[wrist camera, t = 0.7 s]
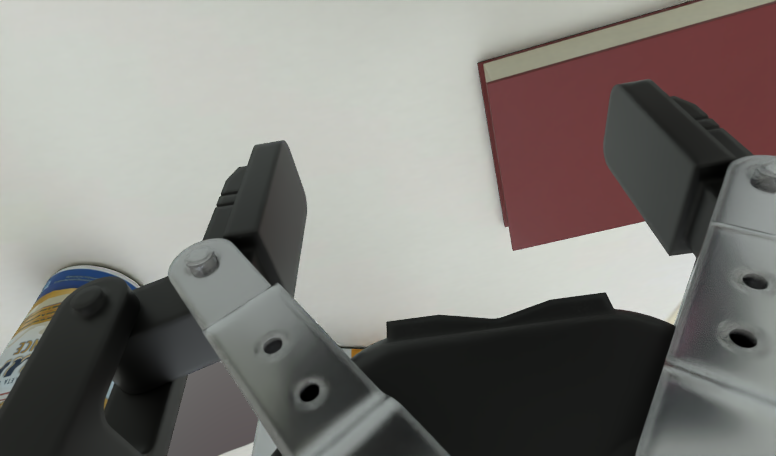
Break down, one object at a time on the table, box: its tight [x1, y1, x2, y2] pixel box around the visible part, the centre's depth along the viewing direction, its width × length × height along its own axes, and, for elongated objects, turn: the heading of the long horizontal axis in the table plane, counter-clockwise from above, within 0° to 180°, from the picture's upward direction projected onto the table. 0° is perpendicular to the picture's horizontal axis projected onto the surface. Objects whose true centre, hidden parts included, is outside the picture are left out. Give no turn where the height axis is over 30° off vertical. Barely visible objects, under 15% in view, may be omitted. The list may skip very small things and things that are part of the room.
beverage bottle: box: [0, 265, 140, 408], centre depth 35 cm, size 8×8×20 cm
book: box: [478, 0, 776, 251], centre depth 31 cm, size 14×19×3 cm
